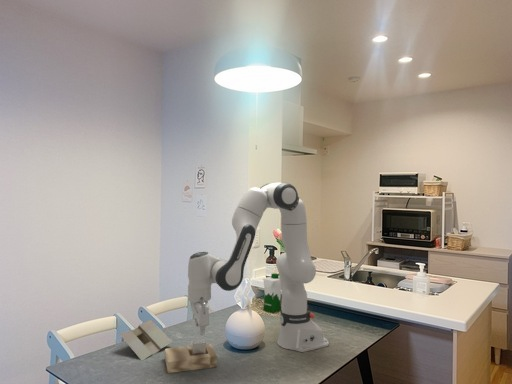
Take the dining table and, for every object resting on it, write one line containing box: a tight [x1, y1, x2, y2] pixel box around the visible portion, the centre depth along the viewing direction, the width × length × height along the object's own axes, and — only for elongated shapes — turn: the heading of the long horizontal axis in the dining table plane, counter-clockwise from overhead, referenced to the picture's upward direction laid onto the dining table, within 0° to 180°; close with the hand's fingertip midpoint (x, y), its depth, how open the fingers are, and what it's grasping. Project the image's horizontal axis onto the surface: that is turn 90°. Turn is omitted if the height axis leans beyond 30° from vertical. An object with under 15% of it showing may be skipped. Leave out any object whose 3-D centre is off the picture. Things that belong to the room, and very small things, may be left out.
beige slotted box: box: [119, 319, 173, 361], centre depth 158 cm, size 16×9×15 cm
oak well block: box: [164, 343, 218, 374], centre depth 146 cm, size 18×12×4 cm, turn 108°
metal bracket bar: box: [190, 338, 207, 356], centre depth 147 cm, size 5×4×8 cm
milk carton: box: [262, 272, 282, 314], centre depth 211 cm, size 9×9×20 cm
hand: (199, 330), depth 147 cm, fingers open, 8 cm apart
